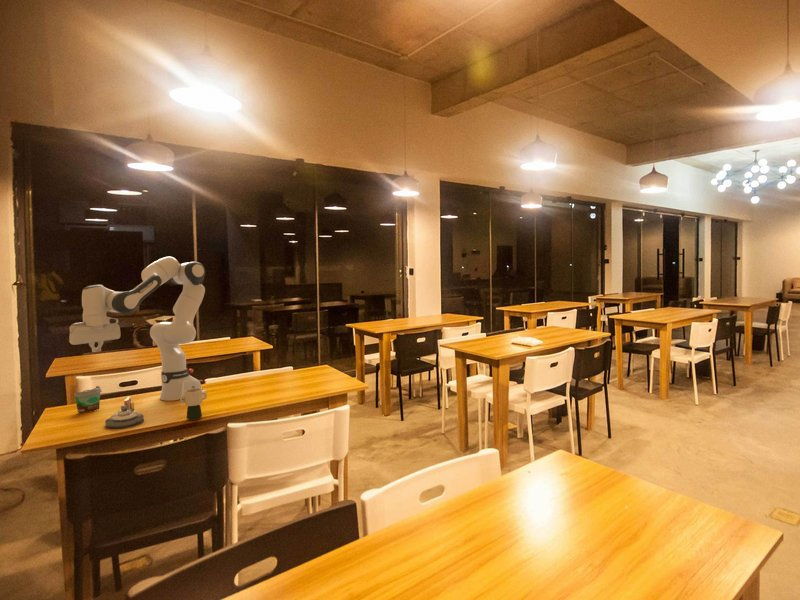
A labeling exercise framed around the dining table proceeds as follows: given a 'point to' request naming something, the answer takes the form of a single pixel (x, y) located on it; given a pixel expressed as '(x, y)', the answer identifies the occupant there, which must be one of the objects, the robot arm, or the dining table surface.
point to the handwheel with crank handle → (125, 424)
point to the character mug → (193, 402)
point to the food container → (88, 400)
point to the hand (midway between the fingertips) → (96, 351)
